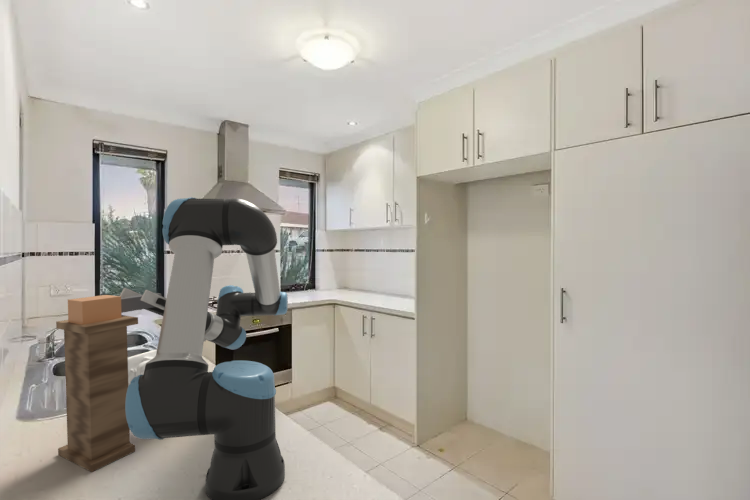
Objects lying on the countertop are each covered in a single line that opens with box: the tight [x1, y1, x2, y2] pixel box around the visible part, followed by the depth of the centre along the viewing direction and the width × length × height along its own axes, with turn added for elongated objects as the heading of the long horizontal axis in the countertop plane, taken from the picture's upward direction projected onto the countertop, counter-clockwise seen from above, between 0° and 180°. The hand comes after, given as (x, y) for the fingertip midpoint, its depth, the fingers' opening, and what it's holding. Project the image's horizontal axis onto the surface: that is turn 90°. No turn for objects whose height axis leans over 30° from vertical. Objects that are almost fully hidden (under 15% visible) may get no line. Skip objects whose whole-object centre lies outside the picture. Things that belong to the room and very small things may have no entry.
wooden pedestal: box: [55, 314, 139, 473], centre depth 90 cm, size 14×11×30 cm
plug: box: [67, 292, 163, 325], centre depth 94 cm, size 6×19×5 cm, turn 152°
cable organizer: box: [128, 349, 157, 386], centre depth 126 cm, size 15×11×12 cm
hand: (132, 293), depth 96 cm, fingers open, 8 cm apart
